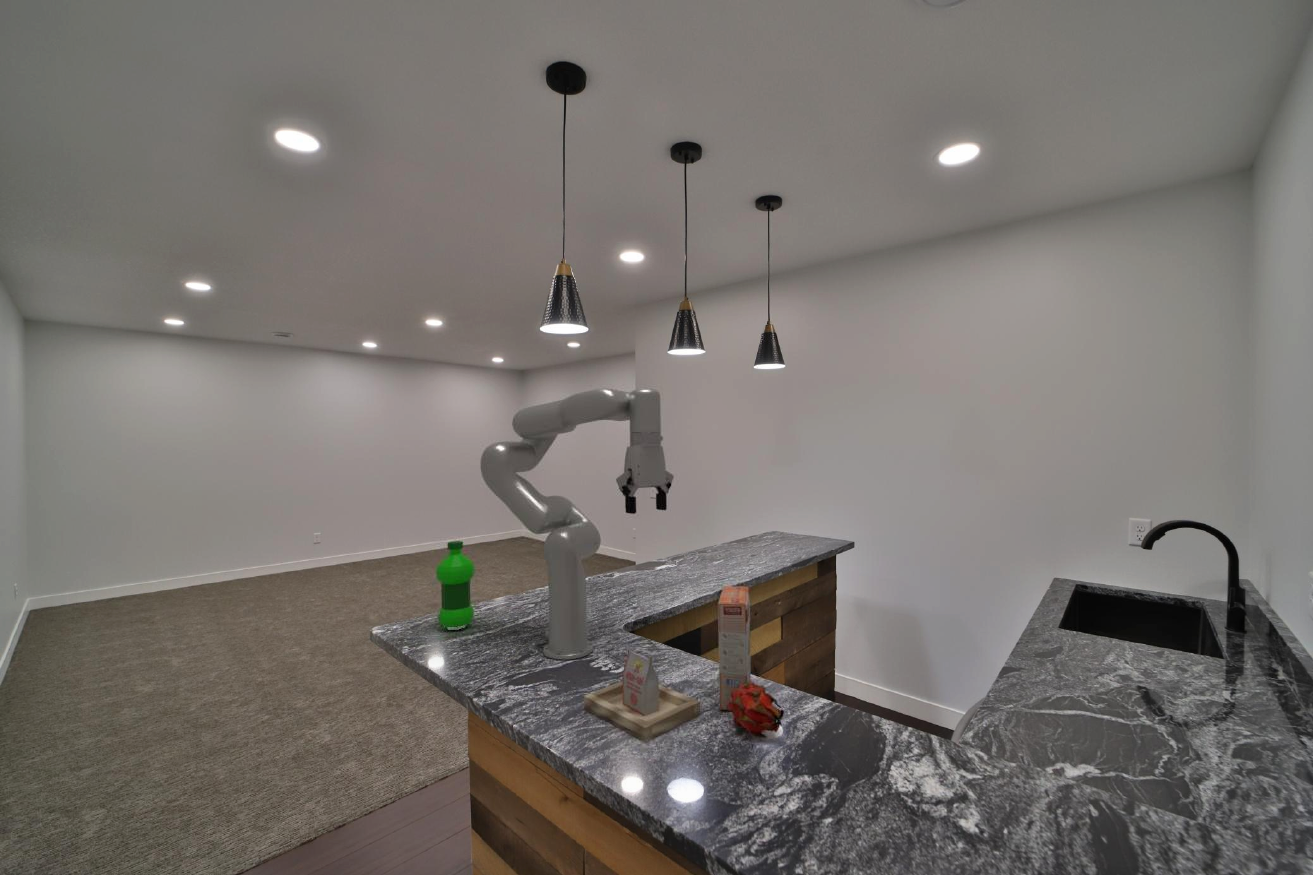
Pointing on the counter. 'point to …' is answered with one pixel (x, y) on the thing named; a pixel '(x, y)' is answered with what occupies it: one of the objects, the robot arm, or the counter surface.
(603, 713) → the wooden tray
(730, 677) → the cracker box
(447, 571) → the plastic bottle
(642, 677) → the white cardboard box
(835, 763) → the counter surface
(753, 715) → the dragon fruit
